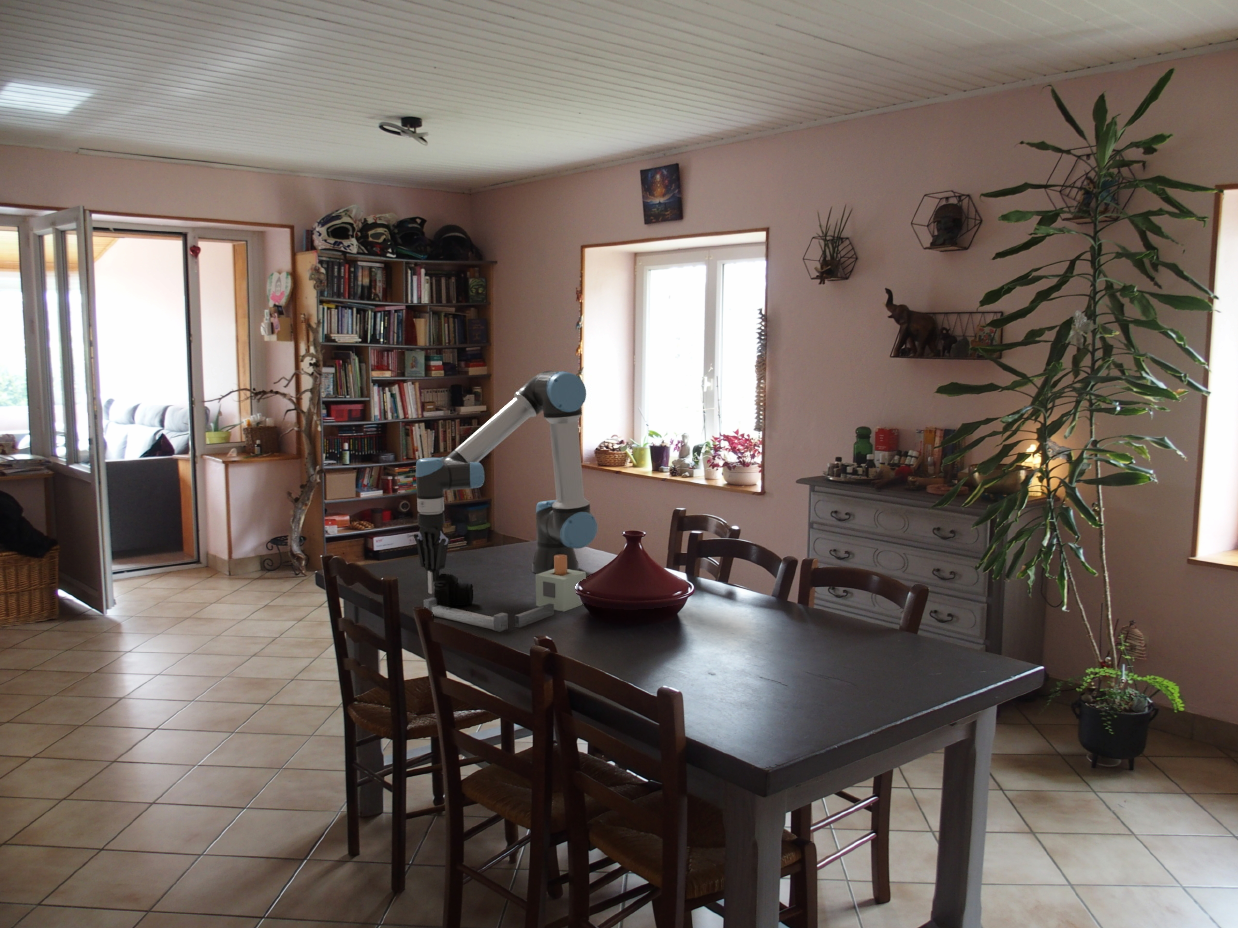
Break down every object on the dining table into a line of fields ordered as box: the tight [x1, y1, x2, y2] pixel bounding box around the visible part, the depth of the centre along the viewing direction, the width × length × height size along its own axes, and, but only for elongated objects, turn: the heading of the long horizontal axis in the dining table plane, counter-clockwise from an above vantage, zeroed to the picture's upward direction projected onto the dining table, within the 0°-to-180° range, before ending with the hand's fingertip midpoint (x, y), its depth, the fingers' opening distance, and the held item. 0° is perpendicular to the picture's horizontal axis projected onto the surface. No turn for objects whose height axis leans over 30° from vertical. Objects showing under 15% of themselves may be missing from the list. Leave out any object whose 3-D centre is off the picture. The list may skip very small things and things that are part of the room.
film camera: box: [433, 573, 474, 608], centre depth 266 cm, size 15×10×9 cm, turn 178°
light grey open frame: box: [423, 597, 555, 633], centre depth 257 cm, size 20×30×4 cm, turn 54°
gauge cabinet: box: [535, 569, 587, 612], centre depth 266 cm, size 10×10×9 cm
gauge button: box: [554, 555, 567, 576], centre depth 265 cm, size 4×4×6 cm
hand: (433, 592), depth 274 cm, fingers closed
